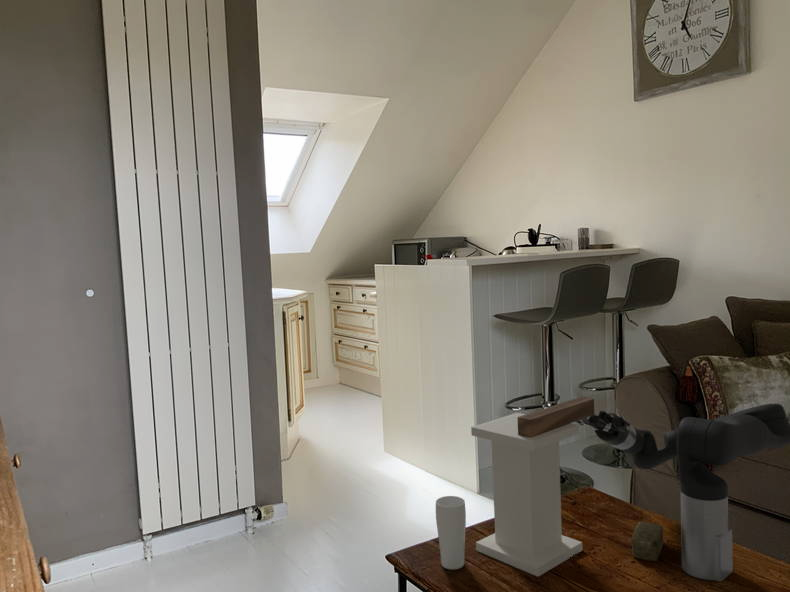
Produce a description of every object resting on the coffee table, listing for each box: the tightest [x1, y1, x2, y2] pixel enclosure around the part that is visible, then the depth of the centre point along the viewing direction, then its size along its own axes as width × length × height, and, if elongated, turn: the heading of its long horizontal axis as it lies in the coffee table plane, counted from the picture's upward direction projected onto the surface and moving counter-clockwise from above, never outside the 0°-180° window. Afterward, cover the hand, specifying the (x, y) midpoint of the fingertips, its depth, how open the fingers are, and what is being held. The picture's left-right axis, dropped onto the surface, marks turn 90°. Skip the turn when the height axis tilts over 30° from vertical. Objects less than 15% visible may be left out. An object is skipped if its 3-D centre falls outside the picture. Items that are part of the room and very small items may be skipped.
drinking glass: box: [435, 495, 467, 571], centre depth 149 cm, size 7×7×15 cm
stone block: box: [631, 520, 664, 563], centre depth 152 cm, size 6×12×5 cm, turn 152°
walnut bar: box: [517, 396, 595, 438], centre depth 153 cm, size 4×25×4 cm, turn 131°
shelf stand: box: [470, 412, 583, 578], centre depth 154 cm, size 18×17×30 cm
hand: (584, 411), depth 161 cm, fingers open, 8 cm apart
